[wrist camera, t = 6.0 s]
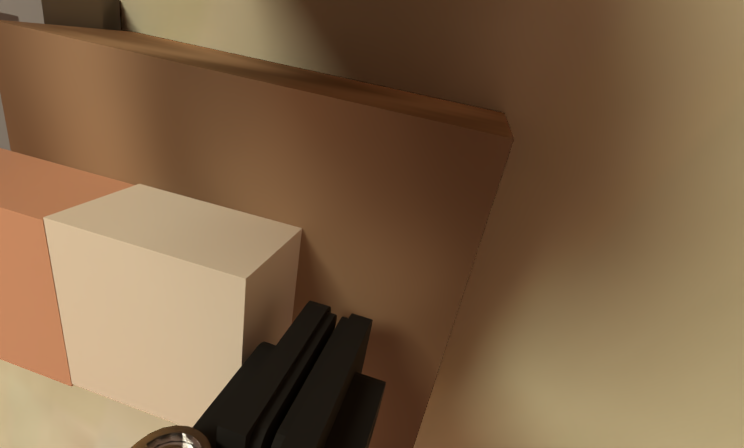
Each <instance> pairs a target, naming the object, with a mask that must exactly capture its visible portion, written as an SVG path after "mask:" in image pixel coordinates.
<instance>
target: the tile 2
mask: <svg viewBox="0 0 744 448" xmlns="http://www.w3.org/2000/svg"><path fill="white" fill-rule="evenodd" d="M43 219H44V225H45V231H46V237H47V243H48V248H49V254H50V260H51V266H52V271H53V277H54V283H55V289H56V294H57V300H58V306H59V312H60V317H61V323H62V329H63V335H64V341H65V346H66V352H67V358H68V364H69V369H70V375H71V381H72V384H73V385H75V386H78V387H81V388H83V389H86V390H89V391H91V392H94V393H96V394H99V395H102V396H104V397H107V398H110V399H112V400H115V401H117V402H120V403H123V404H125V405H128V406H130V407H133V408H136V409H138V410H141V411H144V412H146V413H149V414H151V415H154V416H157V417H159V418H162V419H164V420H167V421H170V422H172V423H175V424H178V425H180V426H189V427H193V426H194V425H195V423H196V422H197V421H198V420H199V418H200V417H201V416H202V415H203V413H204V412H205V411H206V410H207V408H208V407H209V406H210V405H211V403H212V402H213V401H214V400H215V398H216V397H217V396H218V395H219V393H220V392H221V391H222V390H223V388H224V387H225V386H226V385H227V383H228V382H229V381H230V380H231V379H232V377H233V376H234V375H235V374H236V372H237V371H238V370H239V369H240V367H241V366H242V365H243V364H244V362H245V361H246V360H247V359H248V357H249V356H250V355H251V354H252V352H253V351H254V350H255V349H256V347H257V346H258V345H259V344H260V343H262V342H267V343H270V344H273V345H277V343H278V342H279V340H280V339H281V338H282V336H283V335H284V334H285V332H286V331H287V330H288V328H289V327H290V326H291V324H292V316H293V307H294V298H295V289H296V280H297V270H298V261H299V252H300V243H301V234H302V228H299V227H296V226H292V225H288V224H285V223H281V222H277V221H274V220H270V219H266V218H263V217H259V216H255V215H252V214H248V213H244V212H241V211H237V210H233V209H230V208H226V207H223V206H219V205H215V204H212V203H208V202H204V201H201V200H197V199H193V198H190V197H186V196H182V195H179V194H175V193H171V192H168V191H164V190H160V189H157V188H153V187H149V186H146V185H142V184H137V185H134V186H131V187H129V188H126V189H123V190H120V191H117V192H114V193H111V194H108V195H106V196H103V197H100V198H97V199H94V200H91V201H88V202H86V203H83V204H80V205H77V206H74V207H71V208H68V209H65V210H63V211H60V212H57V213H54V214H51V215H48V216H45V217H43Z"/></svg>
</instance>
